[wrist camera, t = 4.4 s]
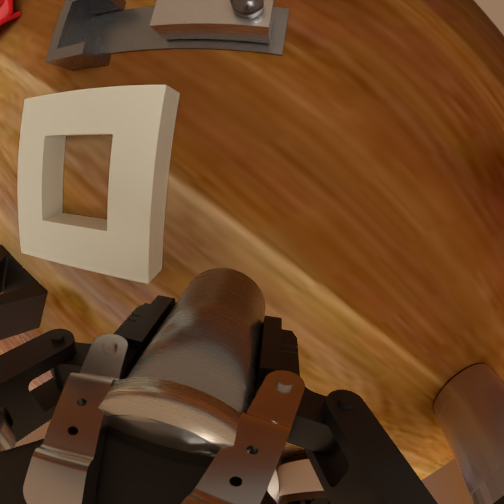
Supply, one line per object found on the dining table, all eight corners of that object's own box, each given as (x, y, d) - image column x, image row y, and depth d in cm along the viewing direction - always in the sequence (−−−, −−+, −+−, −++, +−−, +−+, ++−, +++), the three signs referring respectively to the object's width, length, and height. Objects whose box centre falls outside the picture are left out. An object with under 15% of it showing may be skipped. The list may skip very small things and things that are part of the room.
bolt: (274, 11, 16) (274, -16, 12) (269, 43, 17) (268, 19, 13) (172, 9, 16) (153, -15, 12) (163, 39, 17) (142, 19, 13)
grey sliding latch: (290, -1, 16) (293, -27, 12) (279, 68, 18) (281, 50, 14) (90, 9, 16) (67, -5, 12) (72, 70, 18) (45, 62, 14)
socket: (179, 93, 19) (166, 84, 16) (161, 269, 23) (148, 284, 21) (45, 101, 19) (24, 99, 16) (40, 243, 24) (21, 252, 21)
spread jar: (337, 473, 32) (345, 537, 21) (263, 483, 34) (259, 545, 23) (331, 434, 29) (342, 516, 18) (240, 446, 31) (229, 525, 20)
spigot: (279, 270, 13) (275, 435, 5) (263, 351, 15) (245, 509, 6) (181, 254, 14) (66, 378, 5) (178, 335, 15) (105, 472, 6)
